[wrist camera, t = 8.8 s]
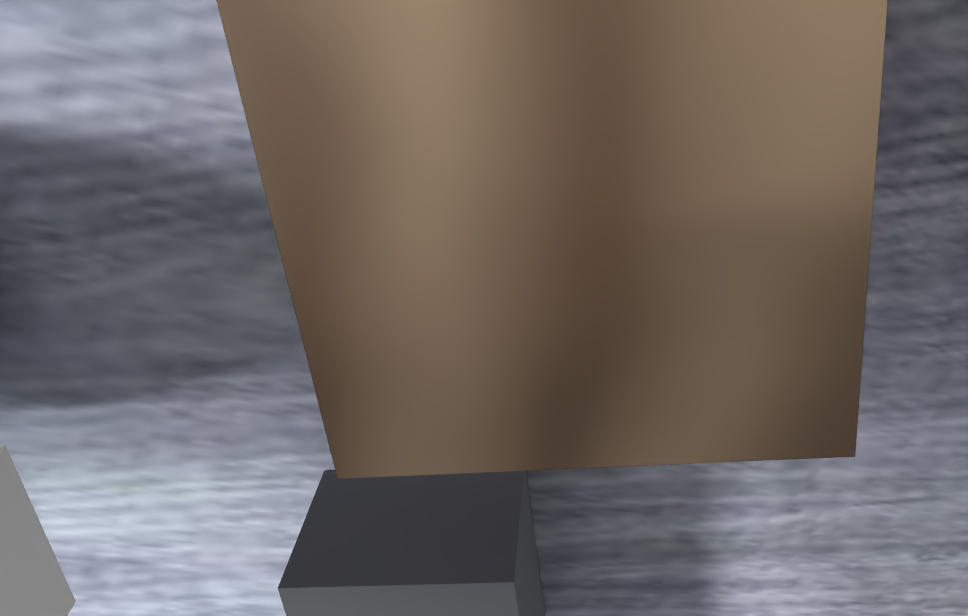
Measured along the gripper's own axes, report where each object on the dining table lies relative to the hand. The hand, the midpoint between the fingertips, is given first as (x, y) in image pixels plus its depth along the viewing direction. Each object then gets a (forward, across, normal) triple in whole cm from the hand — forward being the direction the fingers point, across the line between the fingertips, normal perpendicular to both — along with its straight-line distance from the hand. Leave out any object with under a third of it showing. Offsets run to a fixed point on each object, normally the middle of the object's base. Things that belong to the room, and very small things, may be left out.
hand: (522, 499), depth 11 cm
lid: (+10, 0, 0) cm, 10 cm away
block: (+16, -5, -15) cm, 22 cm away
